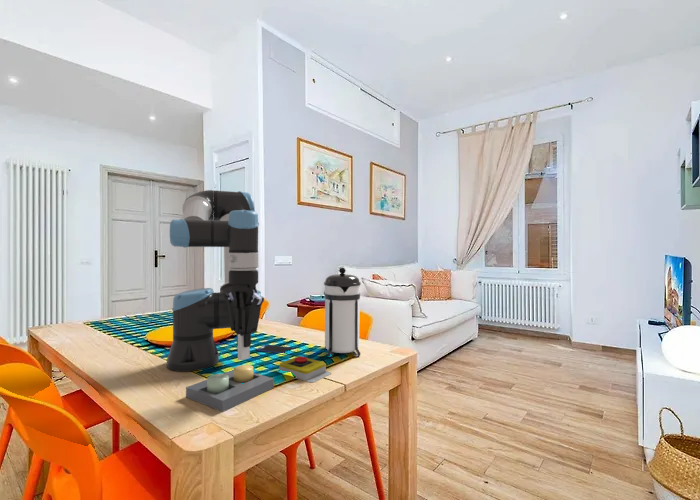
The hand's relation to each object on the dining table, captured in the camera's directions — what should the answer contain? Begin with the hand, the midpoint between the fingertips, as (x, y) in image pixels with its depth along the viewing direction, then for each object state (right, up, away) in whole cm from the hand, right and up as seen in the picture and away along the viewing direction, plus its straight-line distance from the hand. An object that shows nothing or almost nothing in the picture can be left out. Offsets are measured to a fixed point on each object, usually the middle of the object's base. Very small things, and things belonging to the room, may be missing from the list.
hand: (243, 358), depth 94 cm
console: (-2, -8, -3) cm, 9 cm away
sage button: (-4, -6, -6) cm, 10 cm away
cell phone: (+2, -8, +34) cm, 34 cm away
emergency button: (+14, -8, +12) cm, 20 cm away
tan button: (0, -6, 0) cm, 6 cm away
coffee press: (+25, -8, +32) cm, 41 cm away
